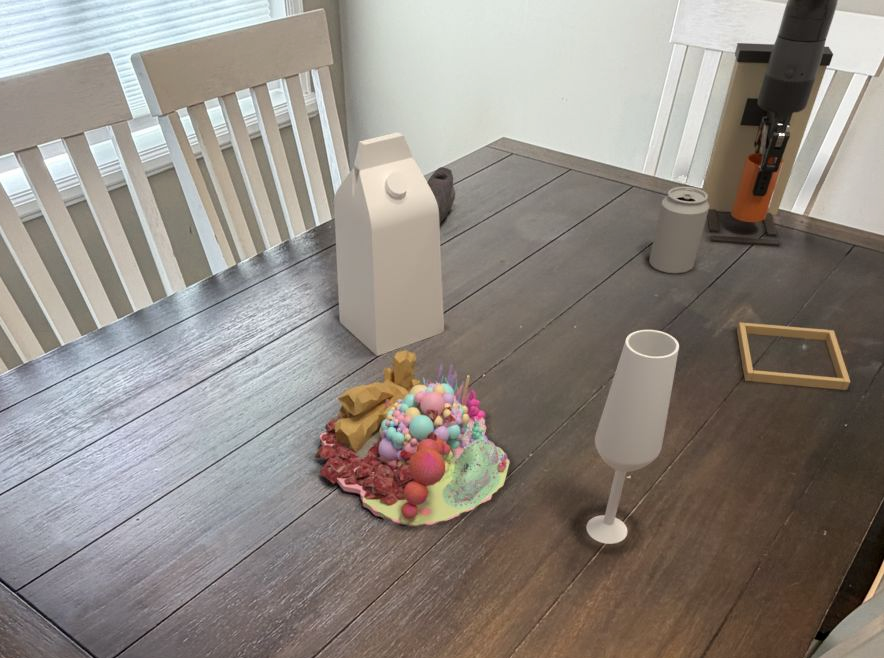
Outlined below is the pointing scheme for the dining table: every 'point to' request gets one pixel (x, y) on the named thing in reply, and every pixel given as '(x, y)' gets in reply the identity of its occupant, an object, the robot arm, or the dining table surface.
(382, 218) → the milk
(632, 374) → the champagne flute
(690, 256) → the can
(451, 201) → the perforated stone tool
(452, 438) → the candy landscape model
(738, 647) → the dining table surface
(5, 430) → the dining table surface
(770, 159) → the cup
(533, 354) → the dining table surface
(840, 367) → the tan wooden square frame
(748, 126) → the standing sign board
